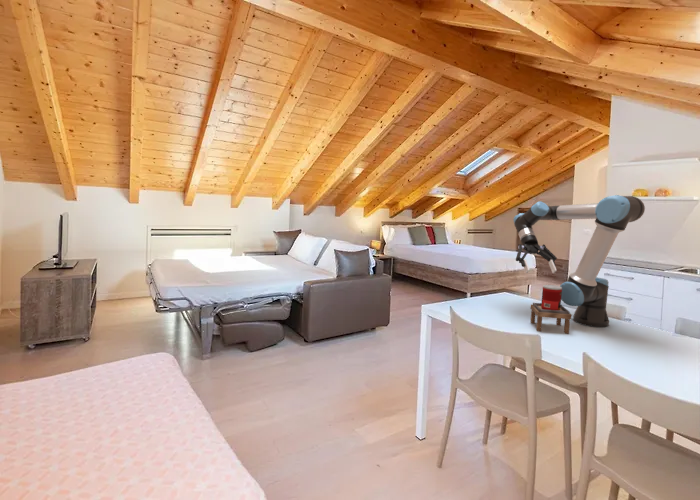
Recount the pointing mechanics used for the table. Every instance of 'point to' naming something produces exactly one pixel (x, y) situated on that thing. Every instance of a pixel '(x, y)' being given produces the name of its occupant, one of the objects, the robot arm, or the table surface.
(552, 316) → the stool
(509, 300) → the table surface
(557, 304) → the canned food
